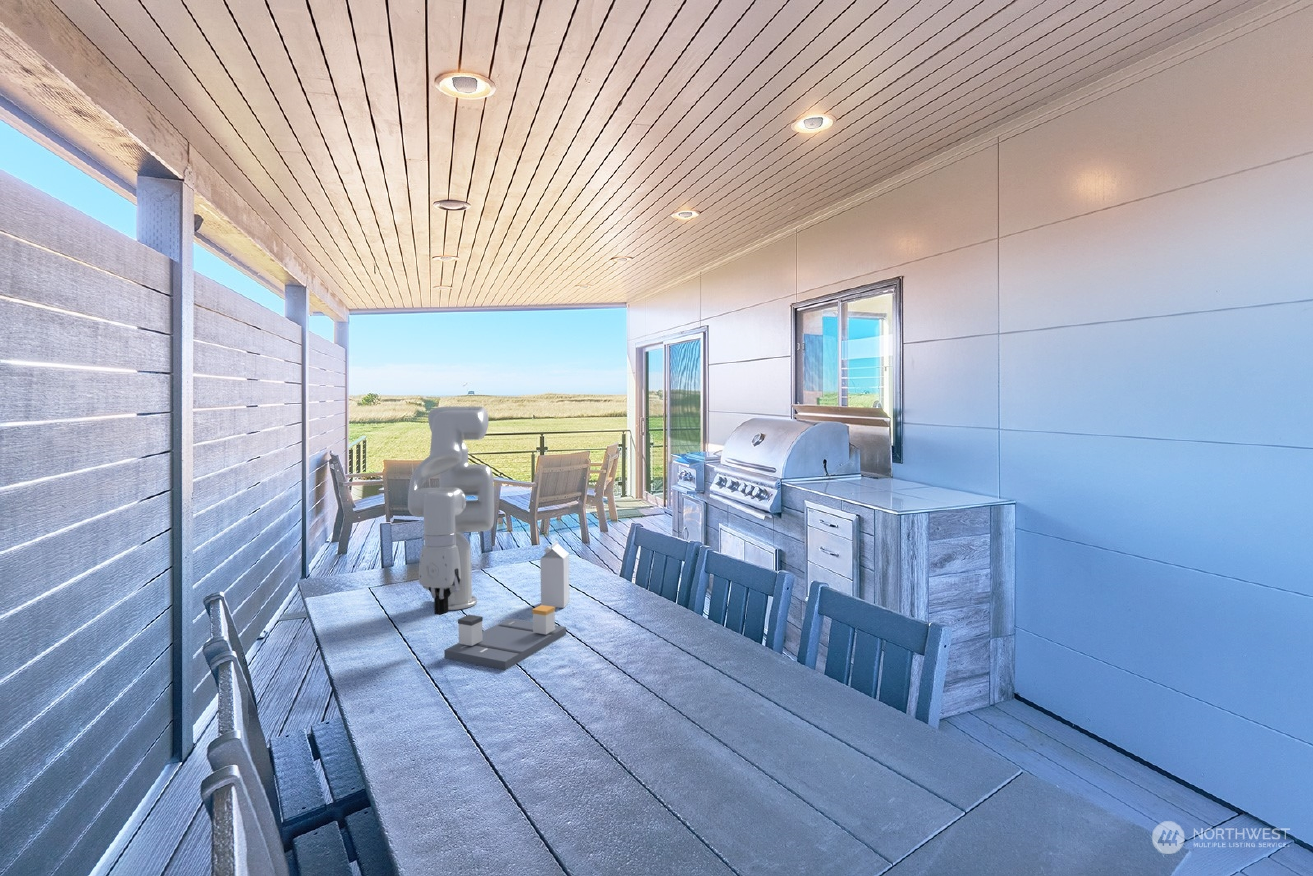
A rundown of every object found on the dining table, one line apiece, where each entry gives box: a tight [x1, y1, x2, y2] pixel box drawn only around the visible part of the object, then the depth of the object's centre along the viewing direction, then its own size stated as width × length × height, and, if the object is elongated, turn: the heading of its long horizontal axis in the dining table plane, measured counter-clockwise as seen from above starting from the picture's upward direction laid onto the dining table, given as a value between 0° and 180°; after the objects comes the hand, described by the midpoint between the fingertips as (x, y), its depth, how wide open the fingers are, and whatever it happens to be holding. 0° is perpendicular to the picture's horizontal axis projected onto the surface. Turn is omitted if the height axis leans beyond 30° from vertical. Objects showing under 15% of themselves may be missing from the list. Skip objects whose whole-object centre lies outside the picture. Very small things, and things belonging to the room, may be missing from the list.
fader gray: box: [457, 614, 484, 646], centre depth 168 cm, size 4×4×6 cm
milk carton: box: [539, 539, 570, 609], centre depth 205 cm, size 7×7×19 cm
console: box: [443, 617, 567, 671], centre depth 172 cm, size 18×26×2 cm
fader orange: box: [531, 604, 556, 634], centre depth 175 cm, size 4×4×6 cm
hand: (441, 613), depth 171 cm, fingers closed
